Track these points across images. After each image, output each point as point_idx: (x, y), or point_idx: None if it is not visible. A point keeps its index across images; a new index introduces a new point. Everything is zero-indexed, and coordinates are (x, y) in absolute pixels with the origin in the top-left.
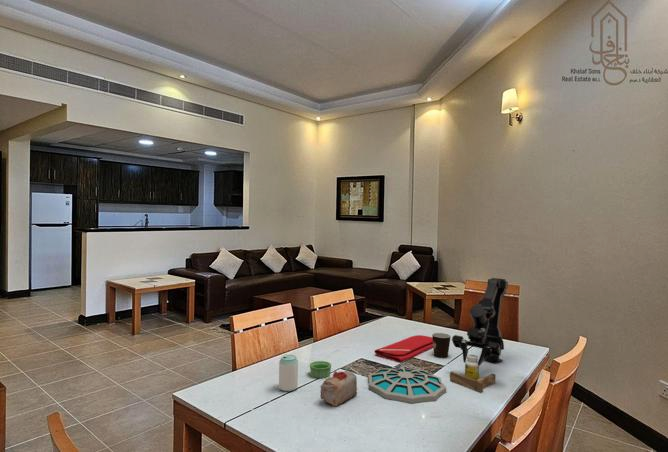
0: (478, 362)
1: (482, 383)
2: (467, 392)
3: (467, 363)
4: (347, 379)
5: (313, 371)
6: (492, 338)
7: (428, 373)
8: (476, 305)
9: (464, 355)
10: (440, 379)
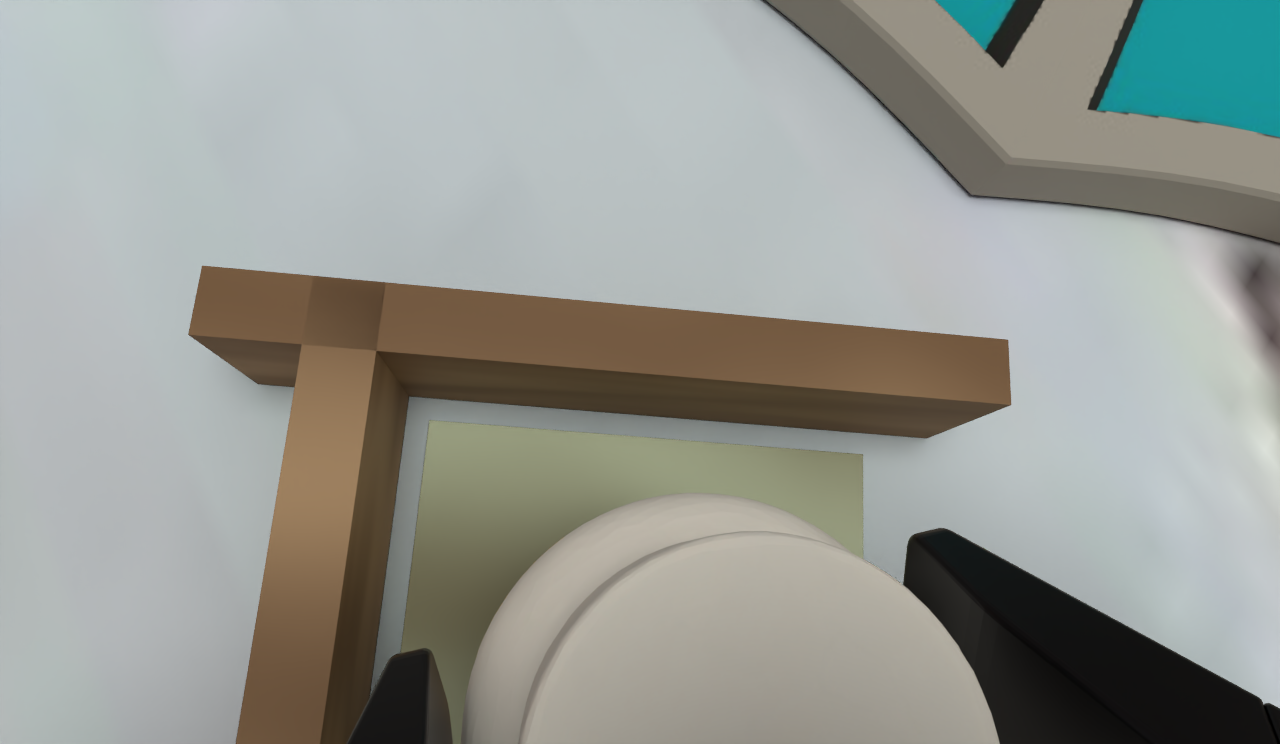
0: (418, 700)
1: (195, 312)
2: (451, 170)
3: (766, 508)
4: None
5: None
6: None
7: (1243, 130)
8: None
9: (1086, 652)
10: (956, 85)
